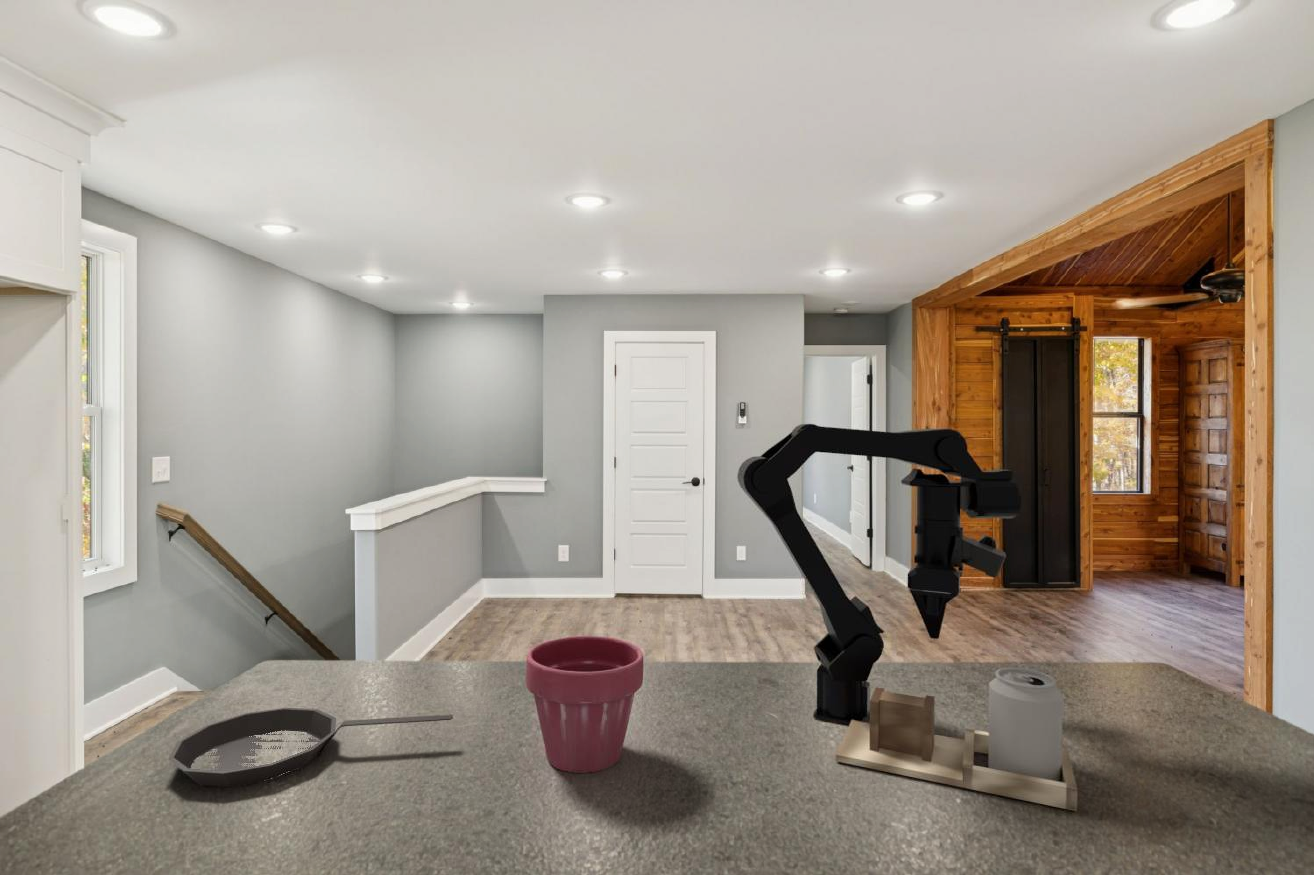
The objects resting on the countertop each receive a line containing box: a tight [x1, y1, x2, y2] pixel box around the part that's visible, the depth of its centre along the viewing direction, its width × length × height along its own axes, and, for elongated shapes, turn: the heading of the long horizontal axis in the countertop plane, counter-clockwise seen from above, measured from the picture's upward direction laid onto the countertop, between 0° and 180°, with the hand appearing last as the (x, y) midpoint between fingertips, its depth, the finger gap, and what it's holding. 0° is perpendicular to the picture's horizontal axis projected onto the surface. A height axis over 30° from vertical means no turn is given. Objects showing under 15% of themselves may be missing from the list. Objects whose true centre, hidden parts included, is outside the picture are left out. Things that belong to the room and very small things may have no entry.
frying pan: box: [167, 707, 454, 788], centre depth 86 cm, size 18×32×4 cm, turn 99°
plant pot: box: [525, 635, 644, 774], centre depth 86 cm, size 14×14×13 cm
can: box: [987, 666, 1064, 782], centre depth 80 cm, size 8×8×12 cm
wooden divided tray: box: [835, 687, 1078, 812], centre depth 83 cm, size 25×11×7 cm, turn 65°
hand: (936, 629), depth 98 cm, fingers open, 9 cm apart
